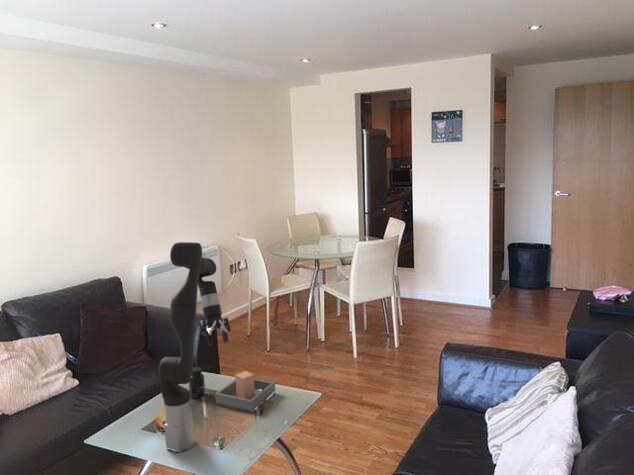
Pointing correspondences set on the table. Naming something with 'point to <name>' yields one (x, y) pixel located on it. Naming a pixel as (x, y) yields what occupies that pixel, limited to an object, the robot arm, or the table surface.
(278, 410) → the table surface
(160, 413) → the slice of bread
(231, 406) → the charcoal bin
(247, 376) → the salmon pink block
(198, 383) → the supplement bottle
